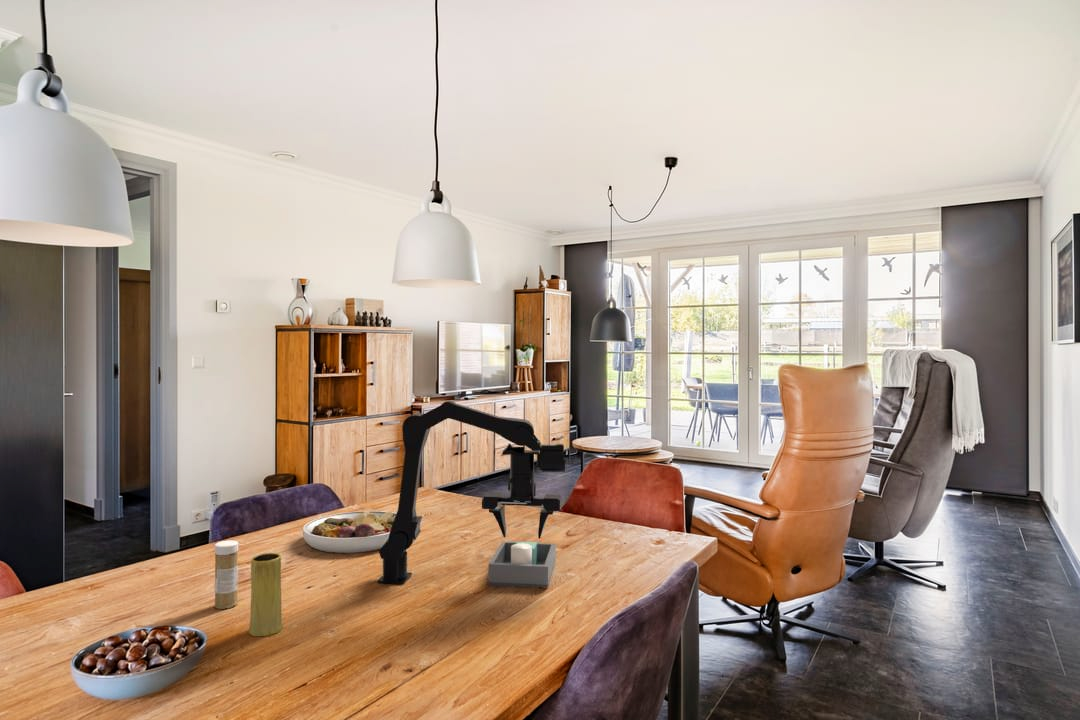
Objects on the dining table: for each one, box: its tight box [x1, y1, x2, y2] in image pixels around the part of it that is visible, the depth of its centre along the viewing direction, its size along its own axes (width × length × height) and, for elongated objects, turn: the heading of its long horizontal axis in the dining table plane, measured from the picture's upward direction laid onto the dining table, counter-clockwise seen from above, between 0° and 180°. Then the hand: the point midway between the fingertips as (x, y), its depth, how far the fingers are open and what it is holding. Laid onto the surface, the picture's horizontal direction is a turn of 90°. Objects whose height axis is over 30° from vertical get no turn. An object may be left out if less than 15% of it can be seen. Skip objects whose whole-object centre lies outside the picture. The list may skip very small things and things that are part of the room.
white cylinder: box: [511, 543, 532, 565], centre depth 149 cm, size 5×5×7 cm
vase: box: [248, 552, 284, 637], centre depth 120 cm, size 6×6×14 cm
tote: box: [487, 540, 557, 588], centre depth 153 cm, size 18×14×5 cm
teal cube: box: [516, 541, 538, 565], centre depth 157 cm, size 5×5×5 cm
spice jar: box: [213, 539, 239, 610], centre depth 132 cm, size 5×5×14 cm
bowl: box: [302, 510, 397, 554], centre depth 181 cm, size 30×30×8 cm
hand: (522, 537), depth 149 cm, fingers open, 8 cm apart
